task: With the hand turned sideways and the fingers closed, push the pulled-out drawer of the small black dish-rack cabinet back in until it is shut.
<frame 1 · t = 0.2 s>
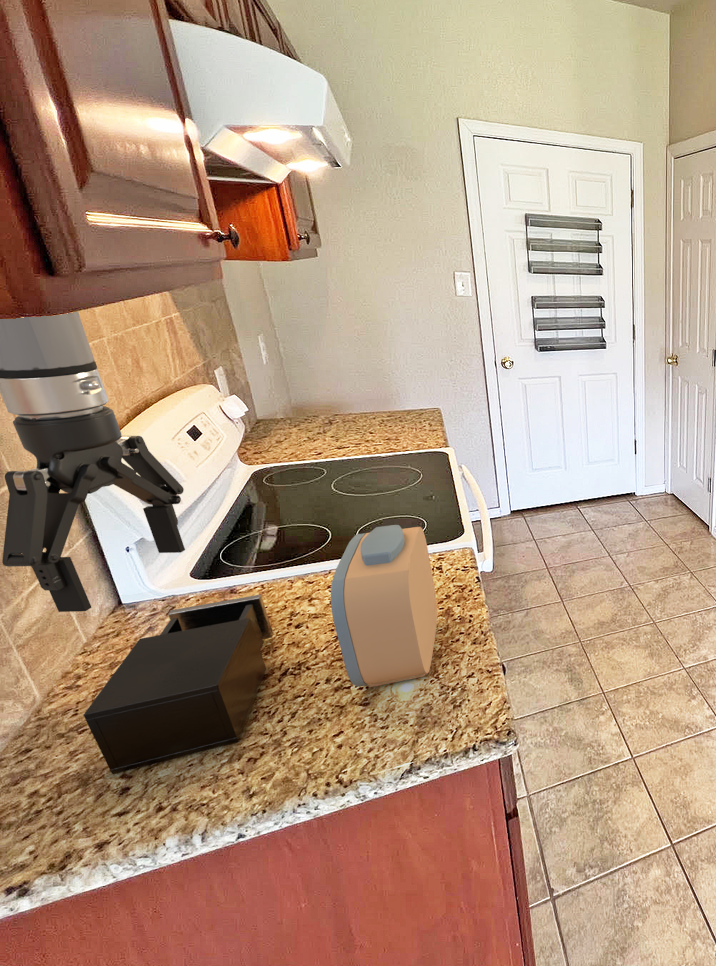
hand: (128, 578, 70), 23 cm above the counter, tool pointing down, fingers open, 13 cm apart
alarm clock: (402, 659, 92), on the counter
rack cabinet: (198, 716, 80), on the counter
drawer: (214, 640, 88), point 5 cm above the counter, slide at 7.5 cm
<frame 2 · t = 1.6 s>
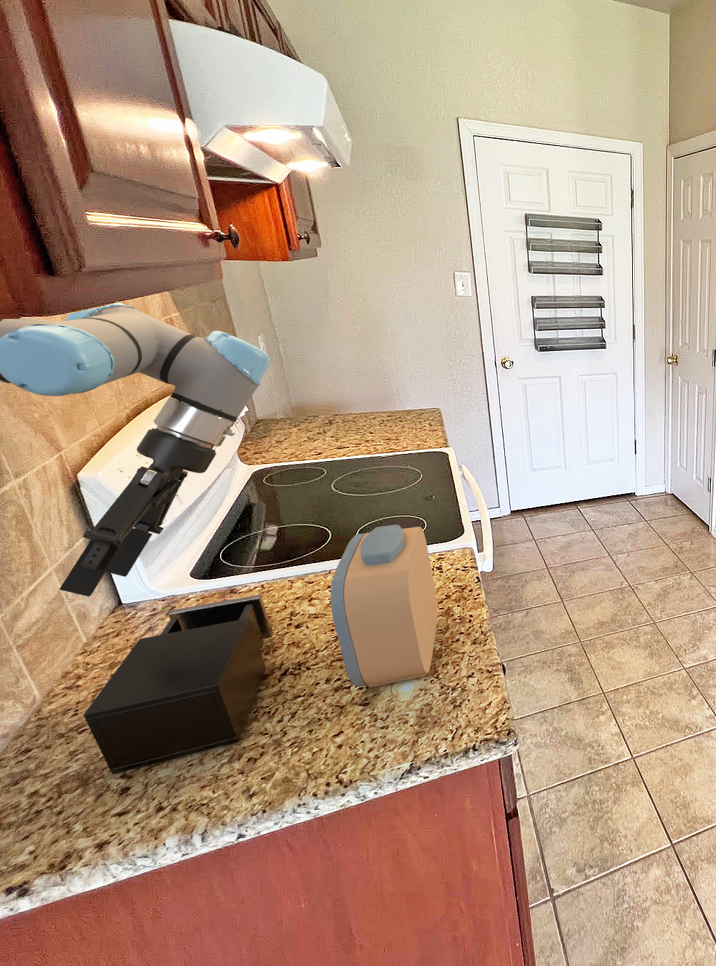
hand: (95, 582, 75), 20 cm above the counter, tool tilted 40°, fingers open, 13 cm apart
nothing on the counter moved.
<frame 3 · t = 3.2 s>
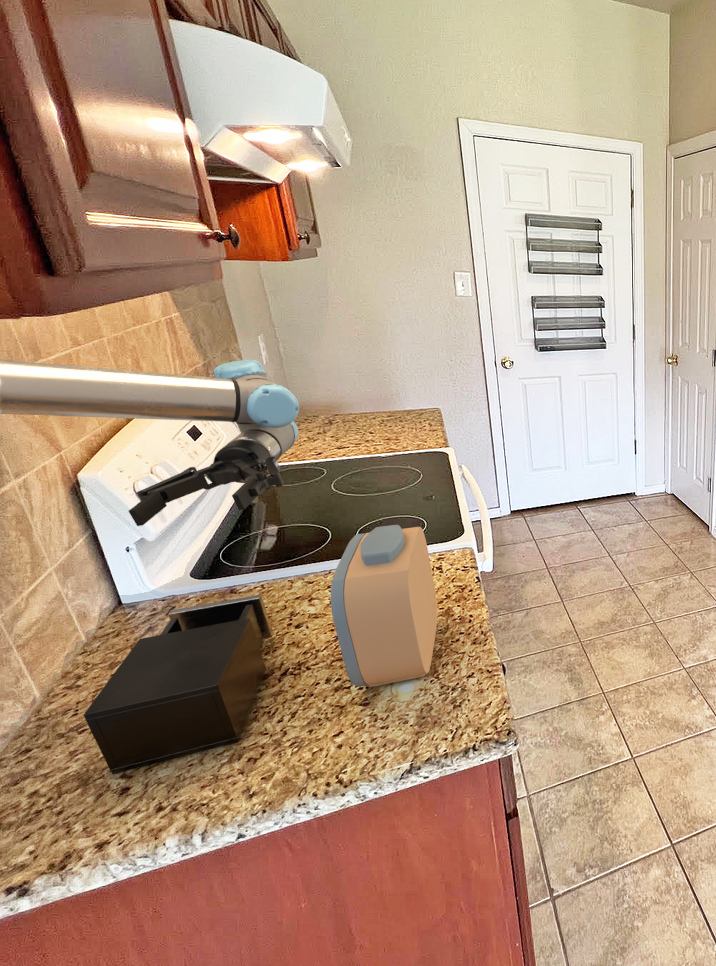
hand: (187, 510, 89), 23 cm above the counter, tool horizontal, fingers open, 13 cm apart
nothing on the counter moved.
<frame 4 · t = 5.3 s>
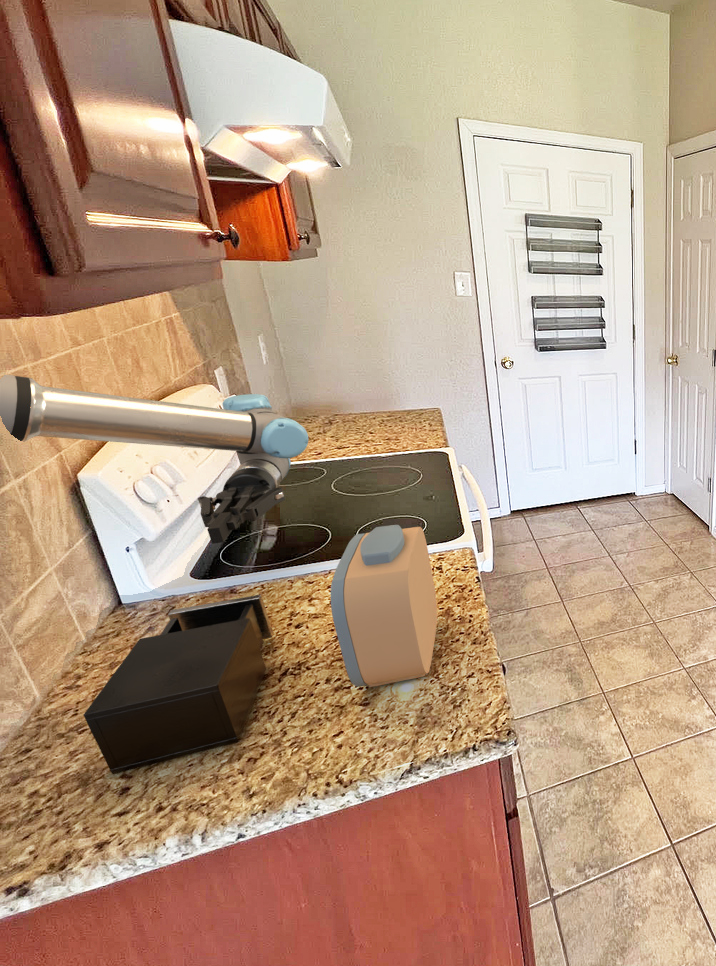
hand: (215, 535, 93), 17 cm above the counter, tool horizontal, fingers closed
nothing on the counter moved.
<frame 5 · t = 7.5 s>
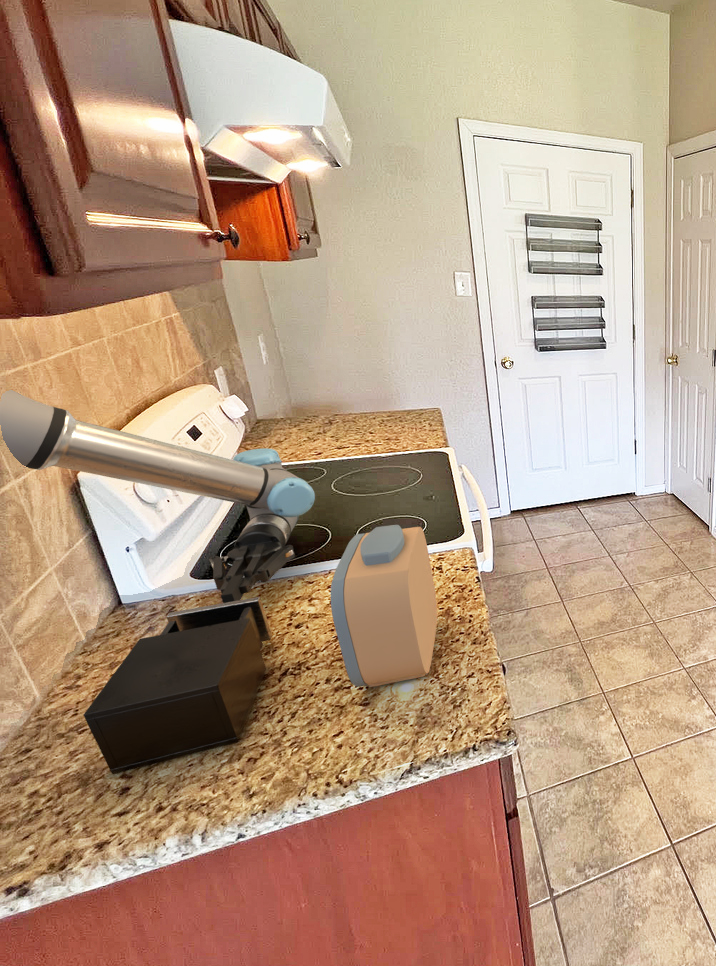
hand: (228, 601, 94), 6 cm above the counter, tool horizontal, fingers closed
drawer: (212, 643, 87), point 5 cm above the counter, slide at 6.8 cm, touching gripper
everything else where it was.
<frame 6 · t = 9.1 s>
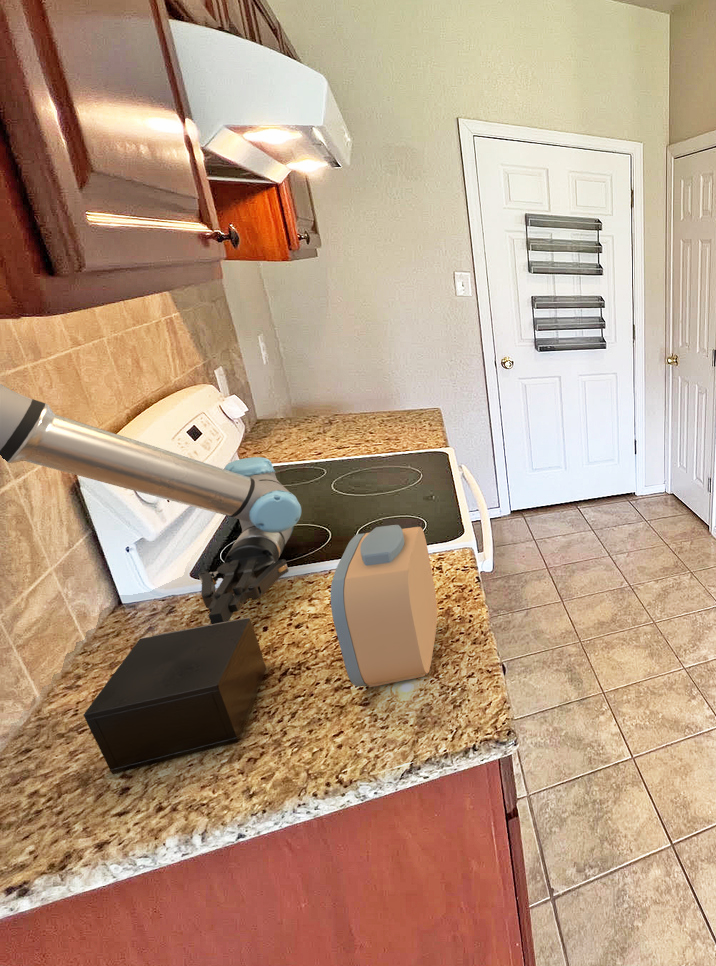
hand: (217, 621, 89), 6 cm above the counter, tool horizontal, fingers closed
drawer: (199, 668, 82), point 5 cm above the counter, slide at 0.7 cm, touching gripper
everything else where it was.
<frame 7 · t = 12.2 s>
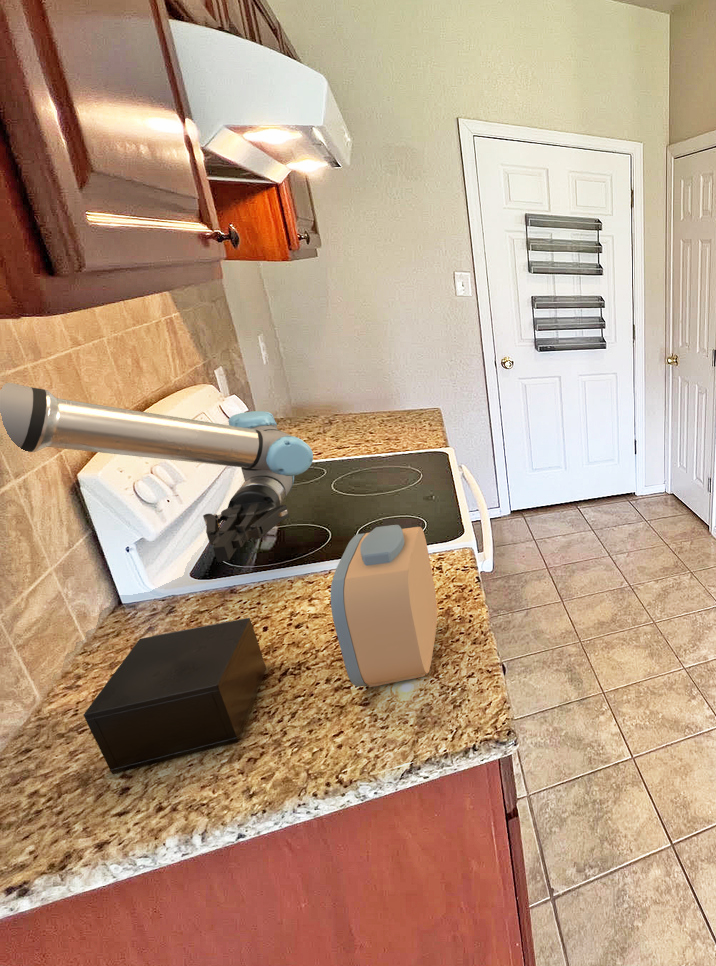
hand: (221, 554, 94), 14 cm above the counter, tool horizontal, fingers closed
drawer: (198, 668, 82), point 5 cm above the counter, slide at 0.6 cm
everything else where it was.
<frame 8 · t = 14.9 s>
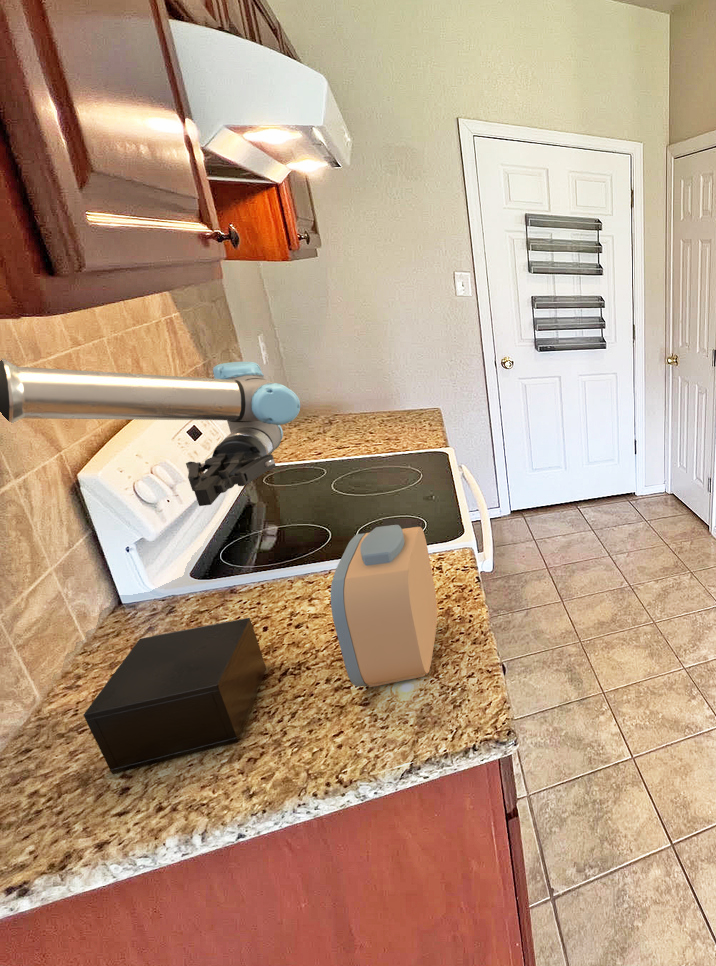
hand: (202, 497, 91), 24 cm above the counter, tool horizontal, fingers closed
nothing on the counter moved.
at the end: drawer slide at 0.6 cm; alarm clock moved 0.2 cm from its start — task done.
